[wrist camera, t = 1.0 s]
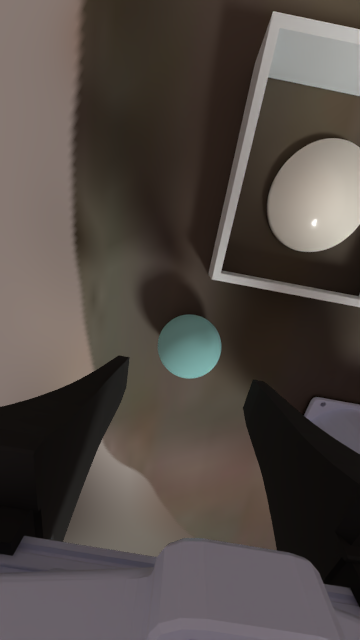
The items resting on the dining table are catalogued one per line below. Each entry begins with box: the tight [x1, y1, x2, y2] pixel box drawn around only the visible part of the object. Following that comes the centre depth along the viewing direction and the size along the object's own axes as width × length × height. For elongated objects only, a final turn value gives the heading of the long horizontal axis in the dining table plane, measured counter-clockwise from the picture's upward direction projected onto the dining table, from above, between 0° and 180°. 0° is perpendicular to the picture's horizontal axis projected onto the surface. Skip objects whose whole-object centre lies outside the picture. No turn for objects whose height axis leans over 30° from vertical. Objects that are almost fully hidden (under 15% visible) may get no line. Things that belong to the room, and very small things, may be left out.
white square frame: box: [208, 11, 360, 307], centre depth 14 cm, size 13×13×3 cm
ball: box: [158, 314, 221, 378], centre depth 17 cm, size 5×5×5 cm
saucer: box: [267, 138, 360, 252], centre depth 15 cm, size 7×7×1 cm
